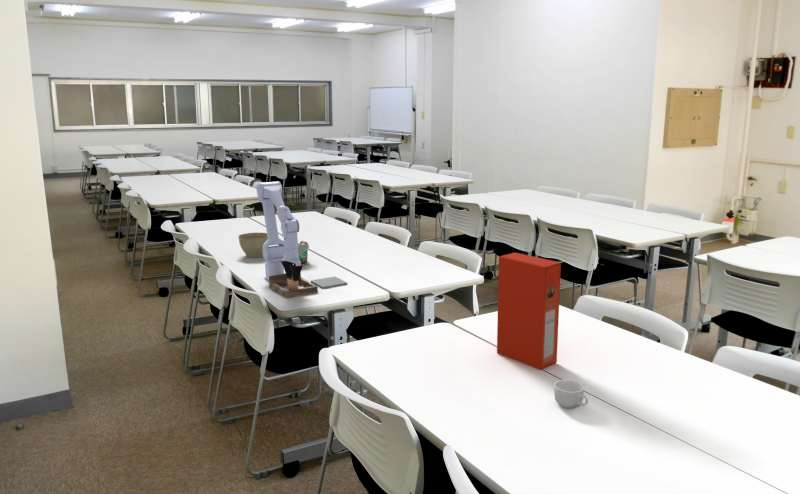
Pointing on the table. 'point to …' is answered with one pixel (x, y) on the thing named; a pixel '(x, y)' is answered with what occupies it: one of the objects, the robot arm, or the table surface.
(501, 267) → the file binder
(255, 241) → the planter bowl
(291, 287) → the clay pot
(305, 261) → the food container
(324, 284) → the potting mat
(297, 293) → the frame
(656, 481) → the table surface
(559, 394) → the teacup
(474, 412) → the table surface
